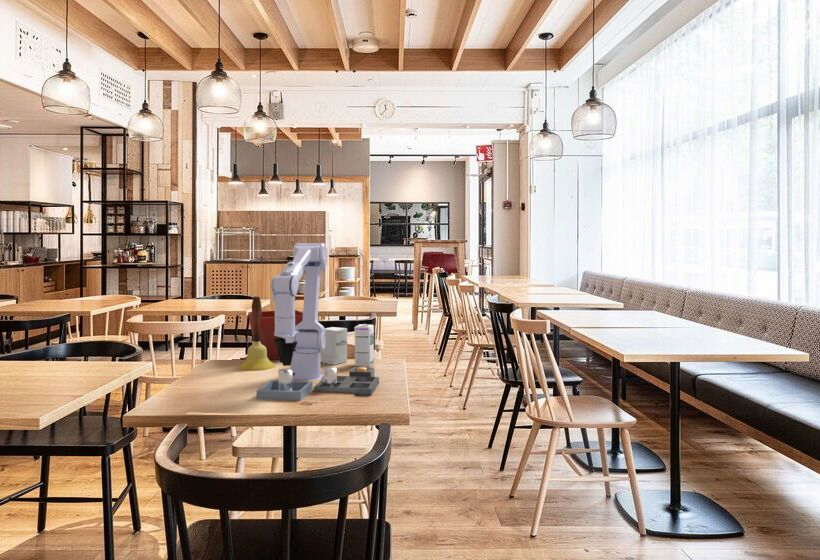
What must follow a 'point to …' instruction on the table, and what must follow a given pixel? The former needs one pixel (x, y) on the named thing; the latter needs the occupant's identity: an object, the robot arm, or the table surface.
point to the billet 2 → (329, 377)
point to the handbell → (257, 344)
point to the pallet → (351, 385)
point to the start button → (361, 369)
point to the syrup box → (364, 345)
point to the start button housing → (362, 372)
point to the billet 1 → (285, 380)
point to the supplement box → (334, 346)
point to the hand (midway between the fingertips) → (285, 363)
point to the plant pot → (270, 331)
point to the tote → (273, 393)
